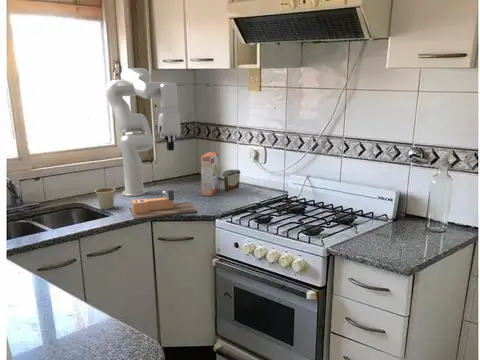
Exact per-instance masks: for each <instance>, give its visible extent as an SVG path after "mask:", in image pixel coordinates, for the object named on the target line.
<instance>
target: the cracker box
mask: <svg viewBox="0 0 480 360" xmlns="http://www.w3.org/2000/svg"><path fill="white" fill-rule="evenodd" d="M200 166H201V168H200V169H201V172H200V173H201V174H200V177H201V196H202V197H203V196H204V197H205V196H206V197H212V196H214V194H215V193H216V192H217V191H218V190H219V152H217V151H212V152H211V151H209V152H206V153H204V154H203V155H201V157H200Z"/></svg>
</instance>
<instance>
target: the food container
mask: <svg viewBox="0 0 480 360" xmlns="http://www.w3.org/2000/svg"><path fill="white" fill-rule="evenodd" d="M240 175H241V170H240V169H228V170H224V171H223V173H222V177H223V182H224V183H223V184H224V191H226V192H231V191H232V192H233V191H234V190H237V189H240V181H241V180H240V178H241V177H240Z"/></svg>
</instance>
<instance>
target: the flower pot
mask: <svg viewBox="0 0 480 360" xmlns="http://www.w3.org/2000/svg"><path fill="white" fill-rule="evenodd" d="M115 192H116V188H114V187H100V188H97V189H95V190H94V193H95V195H96V197H97V201H98V205H99V208H100V209H102V210H108V209H110V208H114V201H115V200H114V199H115Z"/></svg>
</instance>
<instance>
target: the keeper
mask: <svg viewBox="0 0 480 360" xmlns="http://www.w3.org/2000/svg"><path fill="white" fill-rule="evenodd" d="M162 196H163V197H164V196H165V197H166V198H167V199H168V200H174V201H175V191H174V190H173V189H167V190H163V191H162Z"/></svg>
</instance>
